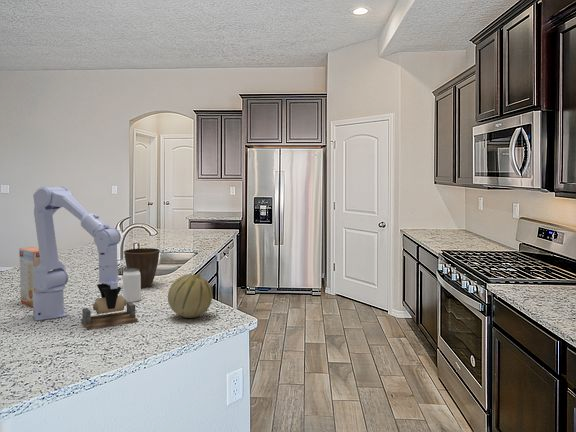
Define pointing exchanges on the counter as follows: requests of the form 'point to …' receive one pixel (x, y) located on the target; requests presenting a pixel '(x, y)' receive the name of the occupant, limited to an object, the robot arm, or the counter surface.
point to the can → (132, 285)
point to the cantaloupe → (190, 296)
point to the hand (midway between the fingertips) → (109, 306)
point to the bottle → (102, 306)
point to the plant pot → (143, 263)
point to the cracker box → (28, 273)
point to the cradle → (108, 318)
